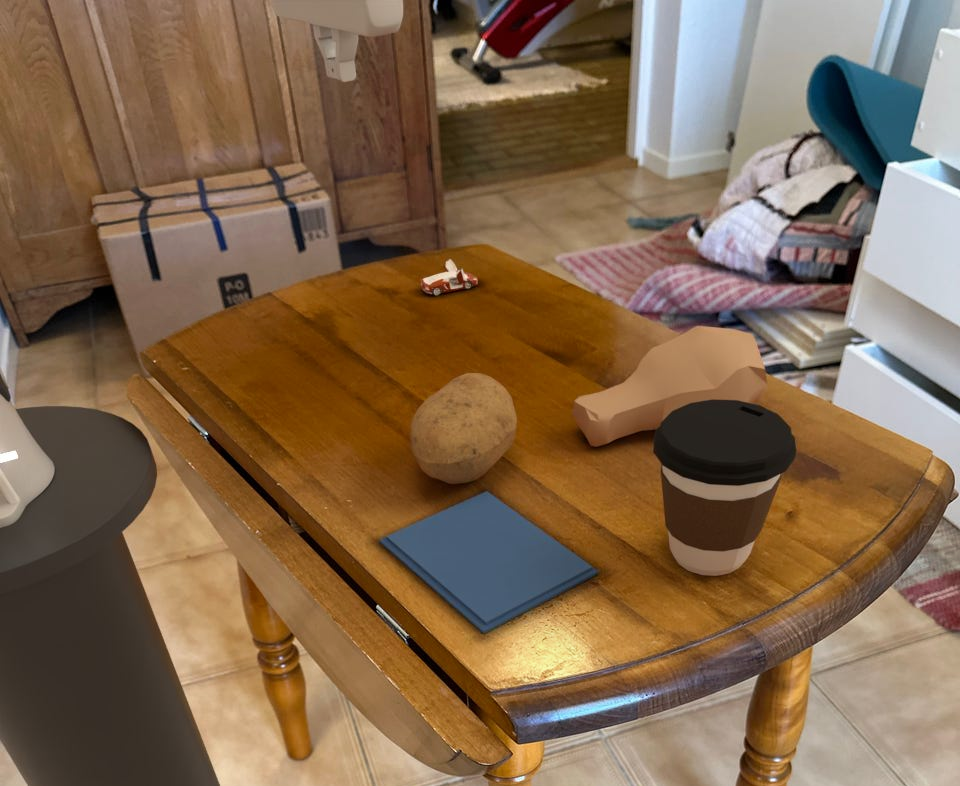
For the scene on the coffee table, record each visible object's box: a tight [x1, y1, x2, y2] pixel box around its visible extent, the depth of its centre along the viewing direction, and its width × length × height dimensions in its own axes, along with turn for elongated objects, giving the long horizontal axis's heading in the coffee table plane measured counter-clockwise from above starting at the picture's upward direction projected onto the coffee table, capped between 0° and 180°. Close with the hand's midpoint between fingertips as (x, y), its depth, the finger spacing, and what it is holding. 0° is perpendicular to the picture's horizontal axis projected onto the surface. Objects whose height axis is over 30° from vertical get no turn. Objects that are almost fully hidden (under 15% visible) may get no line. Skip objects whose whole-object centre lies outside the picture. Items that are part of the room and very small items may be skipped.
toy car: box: [419, 258, 479, 297], centre depth 125 cm, size 5×8×3 cm, turn 110°
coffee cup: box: [652, 399, 797, 577], centre depth 75 cm, size 11×11×12 cm
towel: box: [378, 490, 599, 635], centre depth 81 cm, size 12×16×1 cm
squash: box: [572, 325, 768, 448], centre depth 93 cm, size 11×20×9 cm, turn 109°
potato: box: [410, 372, 518, 485], centre depth 89 cm, size 10×14×8 cm
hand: (341, 79), depth 92 cm, fingers closed
